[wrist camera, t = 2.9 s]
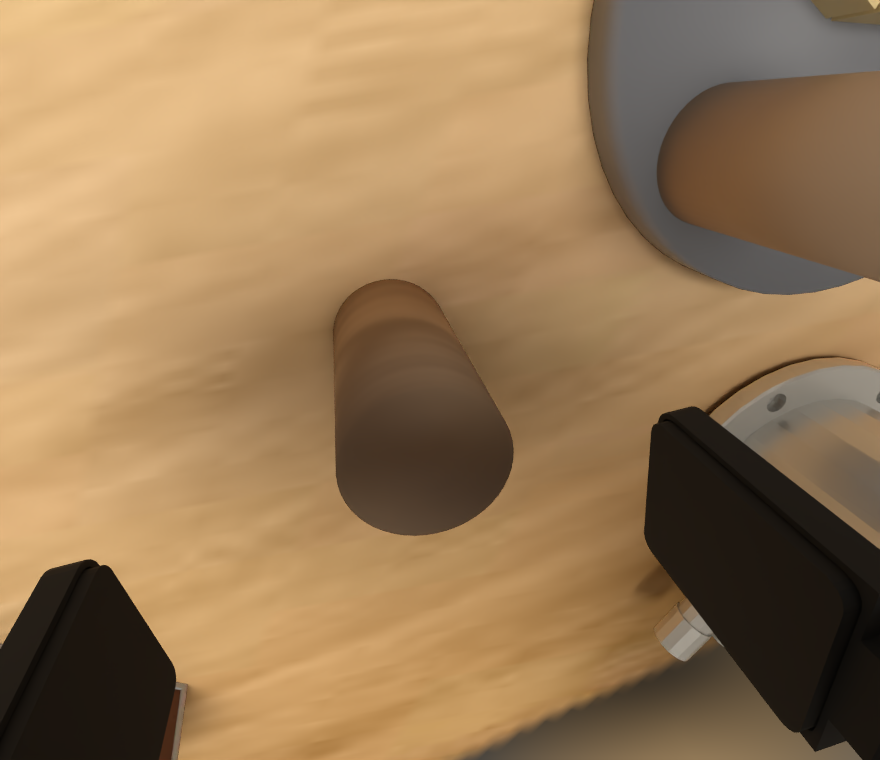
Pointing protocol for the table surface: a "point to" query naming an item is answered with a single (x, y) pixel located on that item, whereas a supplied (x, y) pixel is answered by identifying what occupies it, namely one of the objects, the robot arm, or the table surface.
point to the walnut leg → (412, 415)
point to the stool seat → (744, 134)
